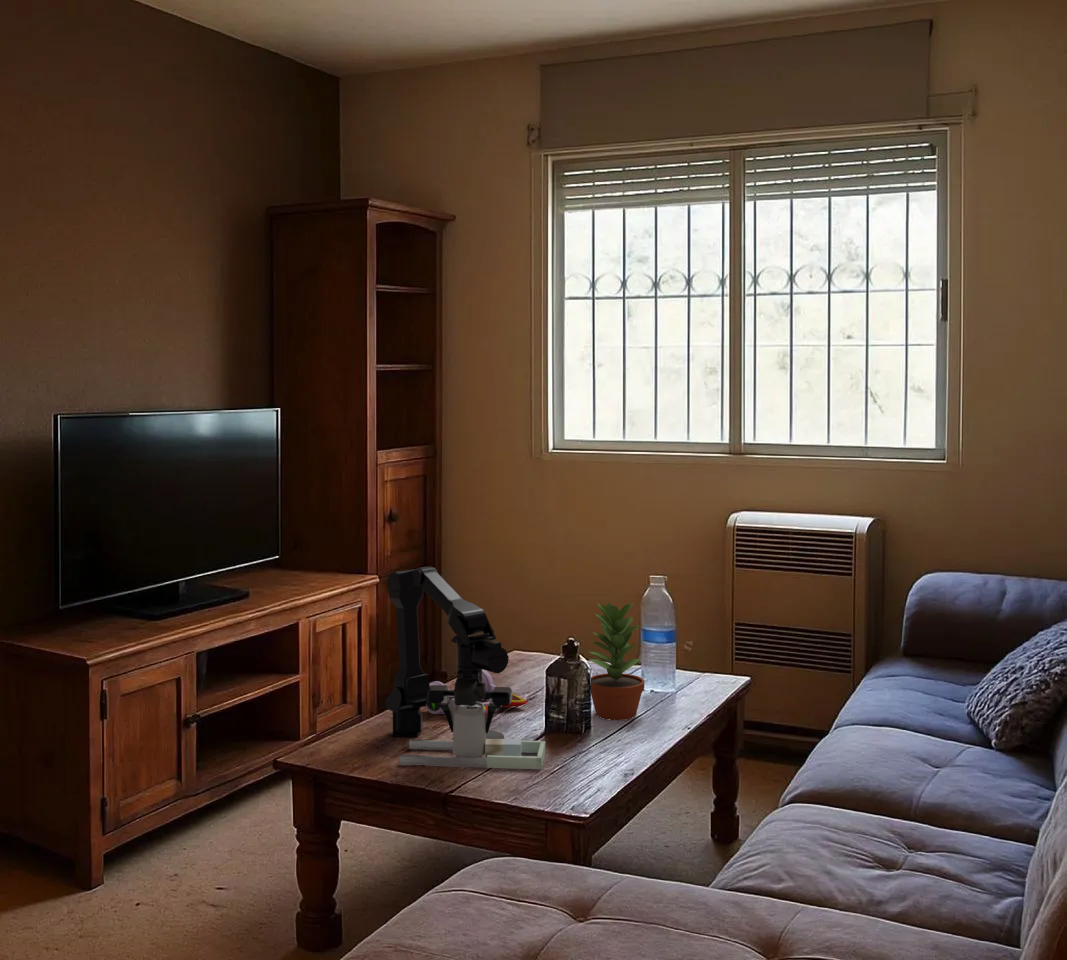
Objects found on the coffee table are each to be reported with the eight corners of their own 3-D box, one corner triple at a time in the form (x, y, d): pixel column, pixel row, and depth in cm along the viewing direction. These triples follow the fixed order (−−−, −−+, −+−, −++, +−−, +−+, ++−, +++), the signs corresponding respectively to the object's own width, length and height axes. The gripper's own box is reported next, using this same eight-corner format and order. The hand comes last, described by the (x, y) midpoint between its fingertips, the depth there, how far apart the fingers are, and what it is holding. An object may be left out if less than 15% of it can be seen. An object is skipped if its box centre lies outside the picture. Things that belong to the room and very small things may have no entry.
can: (459, 762, 262) (461, 710, 261) (447, 752, 269) (448, 701, 268) (490, 758, 266) (492, 706, 264) (478, 748, 272) (479, 697, 271)
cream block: (485, 761, 265) (485, 744, 265) (486, 755, 269) (486, 738, 269) (503, 761, 265) (502, 744, 265) (503, 756, 269) (503, 738, 269)
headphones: (469, 666, 319) (527, 669, 306) (473, 703, 319) (531, 707, 307) (419, 682, 303) (477, 685, 291) (423, 720, 303) (481, 725, 291)
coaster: (459, 745, 277) (459, 742, 277) (465, 731, 287) (465, 729, 287) (501, 746, 276) (501, 743, 276) (506, 733, 286) (506, 730, 286)
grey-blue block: (503, 761, 265) (502, 744, 265) (504, 755, 269) (503, 738, 269) (520, 761, 265) (520, 744, 265) (521, 756, 269) (521, 739, 269)
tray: (487, 767, 261) (487, 756, 261) (493, 750, 273) (493, 739, 273) (541, 769, 260) (541, 758, 260) (545, 751, 272) (545, 741, 272)
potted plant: (648, 707, 307) (649, 593, 304) (640, 724, 292) (641, 605, 290) (591, 704, 310) (592, 591, 308) (581, 720, 296) (581, 602, 293)
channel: (400, 765, 263) (399, 756, 263) (410, 747, 275) (410, 739, 275) (487, 767, 261) (487, 758, 261) (493, 750, 273) (493, 741, 273)
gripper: (422, 672, 258) (422, 742, 260) (506, 675, 257) (506, 745, 258) (431, 660, 269) (431, 726, 271) (512, 662, 268) (512, 729, 269)
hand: (469, 732), depth 267 cm, fingers closed on can, 7 cm apart
